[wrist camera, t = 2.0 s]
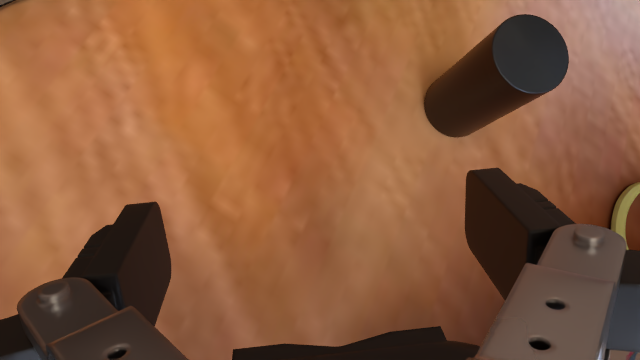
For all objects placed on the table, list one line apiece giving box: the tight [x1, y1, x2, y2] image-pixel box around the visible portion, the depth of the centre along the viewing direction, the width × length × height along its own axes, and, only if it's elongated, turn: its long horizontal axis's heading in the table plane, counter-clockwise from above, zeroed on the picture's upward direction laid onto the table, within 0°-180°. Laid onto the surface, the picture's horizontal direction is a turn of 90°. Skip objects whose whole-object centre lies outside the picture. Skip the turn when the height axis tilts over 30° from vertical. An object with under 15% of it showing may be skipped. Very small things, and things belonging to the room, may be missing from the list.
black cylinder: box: [424, 14, 569, 137], centre depth 36 cm, size 5×5×10 cm
